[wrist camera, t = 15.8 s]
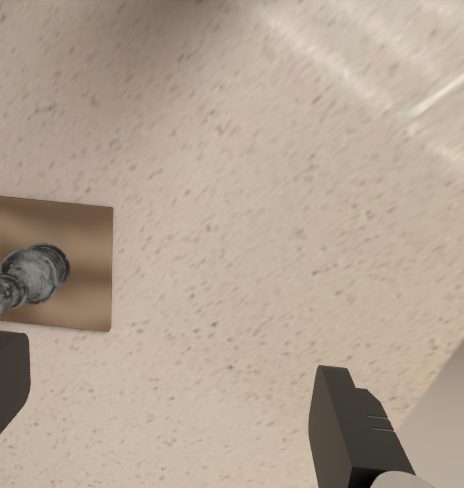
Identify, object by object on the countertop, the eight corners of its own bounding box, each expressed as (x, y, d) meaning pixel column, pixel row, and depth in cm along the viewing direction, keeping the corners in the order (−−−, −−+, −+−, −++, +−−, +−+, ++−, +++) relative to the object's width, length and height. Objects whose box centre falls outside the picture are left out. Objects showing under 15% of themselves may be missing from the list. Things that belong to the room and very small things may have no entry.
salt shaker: (79, 286, 45) (20, 339, 33) (29, 296, 45) (-47, 351, 34) (62, 234, 43) (-6, 270, 32) (11, 245, 44) (-75, 285, 32)
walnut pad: (-19, 194, 43) (-23, 195, 42) (113, 207, 43) (110, 208, 42) (-11, 315, 47) (-15, 318, 46) (111, 328, 47) (108, 331, 46)
